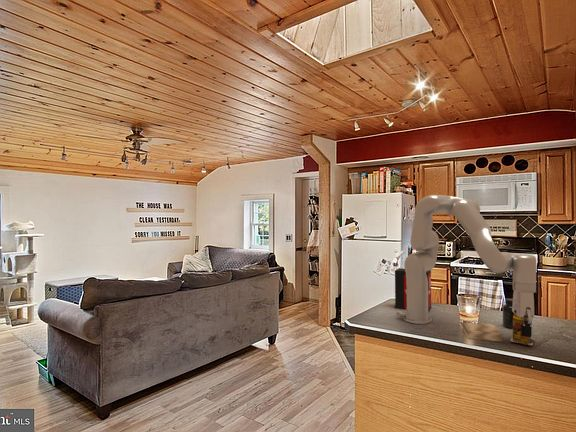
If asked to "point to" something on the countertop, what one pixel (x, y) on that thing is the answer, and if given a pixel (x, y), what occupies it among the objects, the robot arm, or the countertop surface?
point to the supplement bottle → (508, 314)
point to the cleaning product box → (402, 289)
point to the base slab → (482, 331)
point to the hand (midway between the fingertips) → (523, 332)
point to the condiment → (519, 331)
